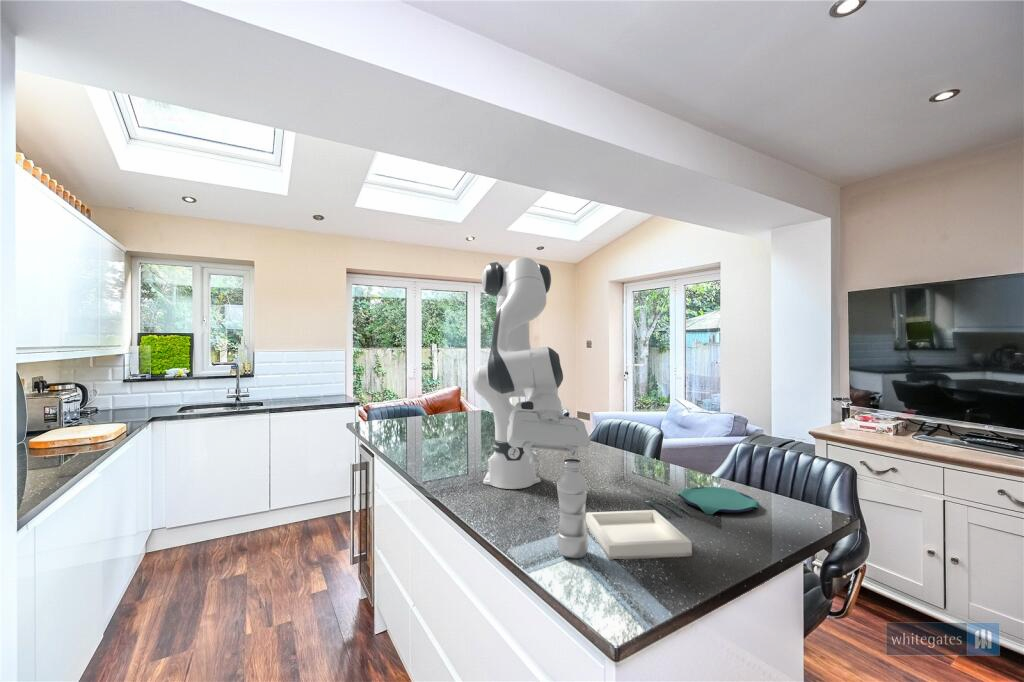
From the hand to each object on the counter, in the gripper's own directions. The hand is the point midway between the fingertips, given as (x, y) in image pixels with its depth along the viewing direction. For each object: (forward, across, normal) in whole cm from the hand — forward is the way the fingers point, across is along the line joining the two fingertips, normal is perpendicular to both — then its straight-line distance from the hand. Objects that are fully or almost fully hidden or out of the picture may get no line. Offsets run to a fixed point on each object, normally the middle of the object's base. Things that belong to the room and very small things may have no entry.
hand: (553, 464), depth 97 cm
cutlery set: (0, -51, -16) cm, 53 cm away
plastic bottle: (+17, -4, -7) cm, 19 cm away
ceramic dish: (+13, -21, -8) cm, 26 cm away
